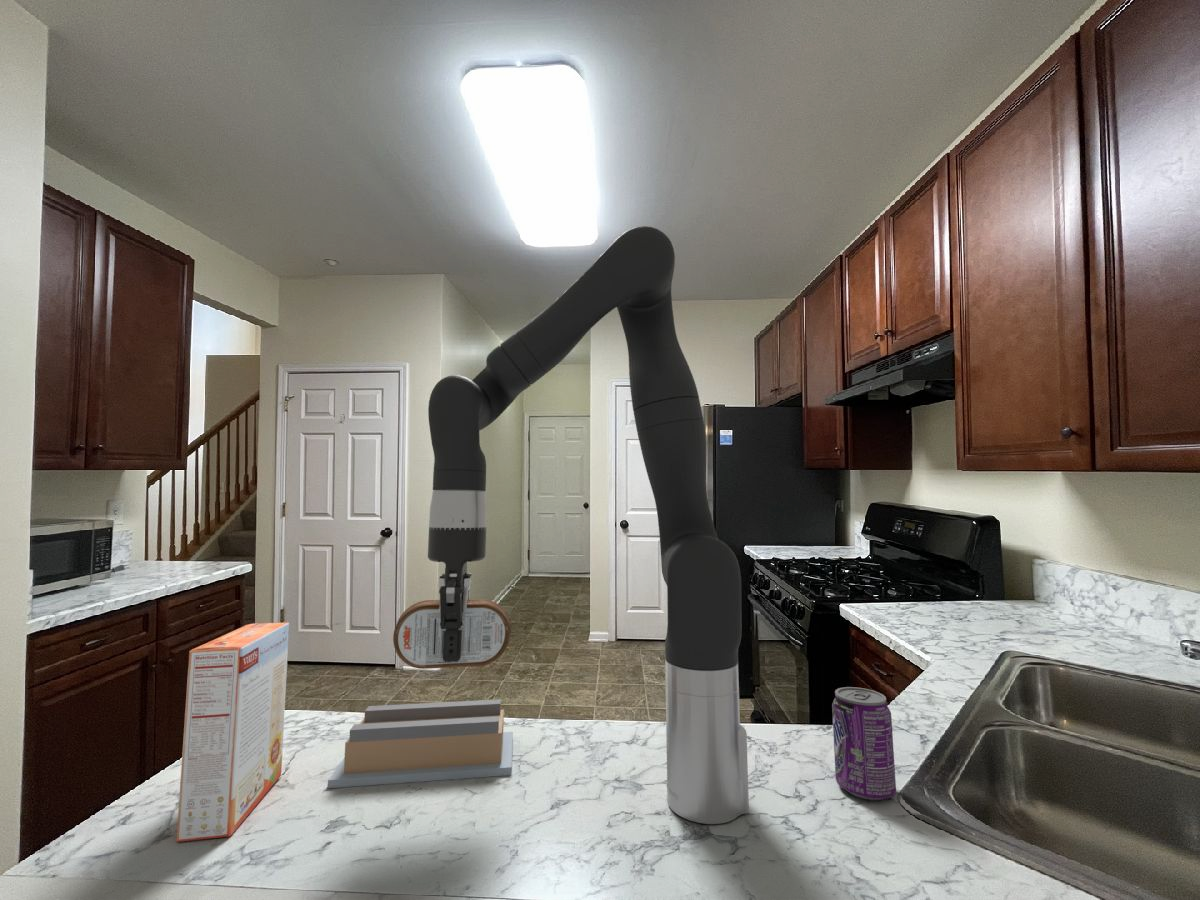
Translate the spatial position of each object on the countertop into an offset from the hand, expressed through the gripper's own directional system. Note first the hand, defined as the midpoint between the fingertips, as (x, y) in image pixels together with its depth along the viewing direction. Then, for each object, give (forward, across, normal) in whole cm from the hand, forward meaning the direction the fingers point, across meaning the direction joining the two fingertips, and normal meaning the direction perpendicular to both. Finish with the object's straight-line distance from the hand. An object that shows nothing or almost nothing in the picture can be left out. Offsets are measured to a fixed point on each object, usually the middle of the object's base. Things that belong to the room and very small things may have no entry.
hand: (453, 656), depth 69 cm
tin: (+1, 0, 0) cm, 1 cm away
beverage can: (+17, -7, -54) cm, 57 cm away
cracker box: (+18, +2, +26) cm, 32 cm away
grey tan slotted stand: (+17, +11, +4) cm, 21 cm away
